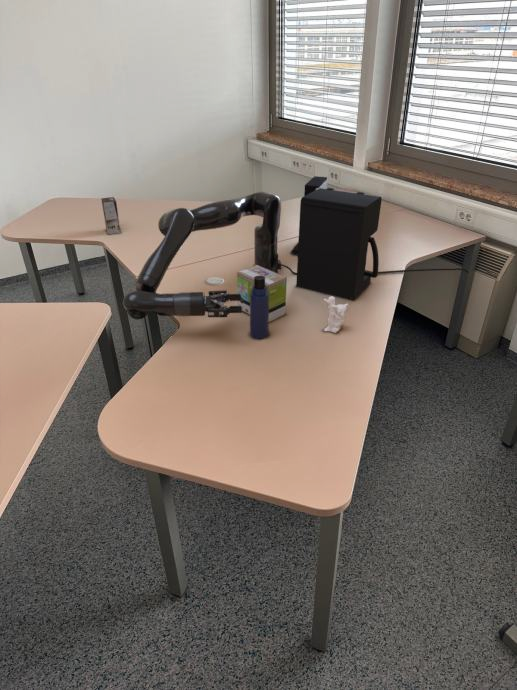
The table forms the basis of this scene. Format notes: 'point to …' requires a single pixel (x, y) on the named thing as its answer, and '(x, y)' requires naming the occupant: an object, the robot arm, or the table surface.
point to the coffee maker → (337, 241)
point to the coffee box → (111, 215)
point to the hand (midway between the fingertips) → (241, 303)
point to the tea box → (274, 287)
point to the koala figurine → (335, 315)
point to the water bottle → (259, 309)
